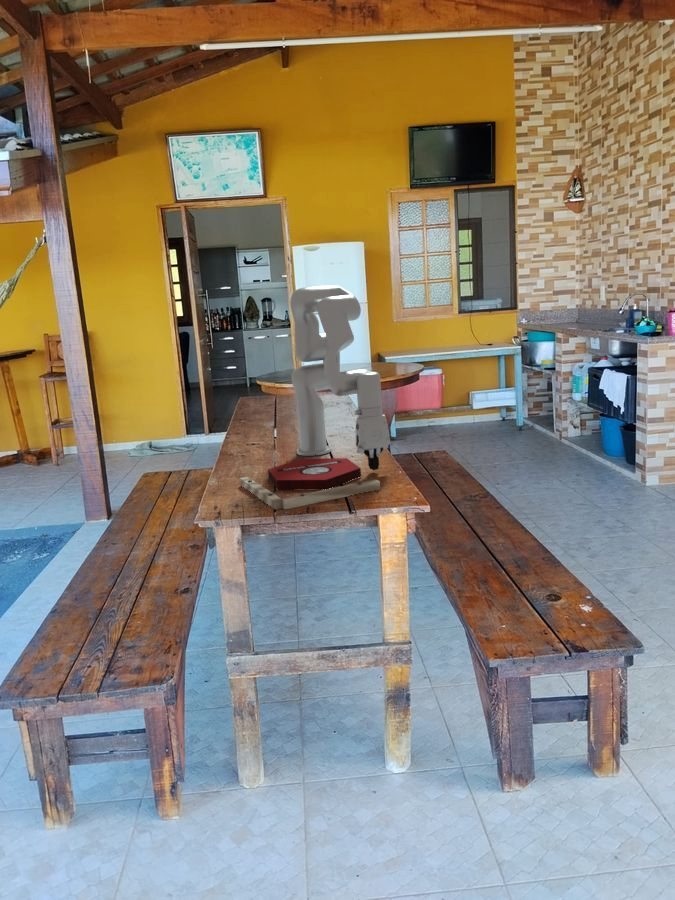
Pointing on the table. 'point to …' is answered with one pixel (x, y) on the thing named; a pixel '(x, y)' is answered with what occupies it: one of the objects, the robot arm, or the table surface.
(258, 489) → the corner rail
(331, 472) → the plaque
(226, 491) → the table surface
